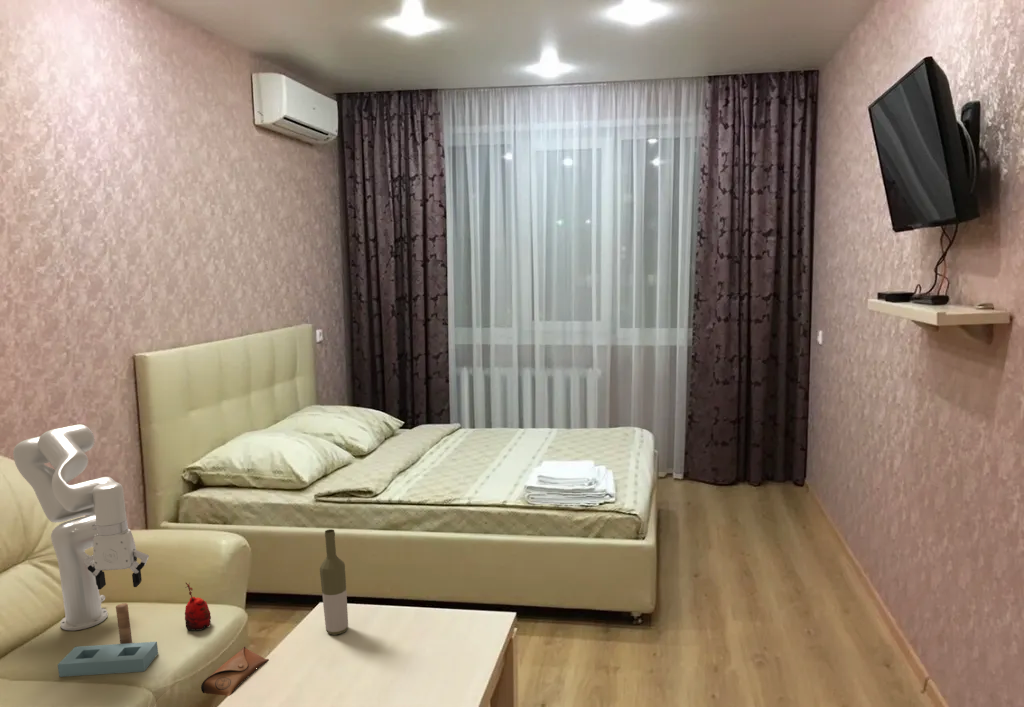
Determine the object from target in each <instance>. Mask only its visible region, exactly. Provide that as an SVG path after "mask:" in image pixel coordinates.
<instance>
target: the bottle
mask: <svg viewBox="0 0 1024 707" xmlns="http://www.w3.org/2000/svg"><path fill="white" fill-rule="evenodd" d="M324 538H325V549H326V557H325V559H324V560H323V561H322V562H321V564H320V566H319V576H320V584H321V595H322V604H323V606H322V607H323V614H324V624H325V631H326V633H328V634H329V635H333V636H334V635H340V634H343V633H346V631H348V628H349V616H348V615H349V614H348V613H349V612H348V599H347V598H348V594H347V581H346V580H347V579H346V578H347V577H346V564H345V562H344V561H343V560H342V559H341V558H339V557H338V556H337V553H336V552H337V550H336V549H337V548H336V532H335V529H333V528H332V529H326V530H325V531H324Z"/></svg>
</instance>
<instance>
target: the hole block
mask: <svg viewBox="0 0 1024 707" xmlns="http://www.w3.org/2000/svg"><path fill="white" fill-rule="evenodd" d="M158 654H159V648H158V642H157V641H148V642H147V641H145V642H132V643H126V644H120V643H115V644H114V643H112V644H99V645H98V644H95V645H81V646H78V645H77V646H75V647H73V648H72V649H71V650H70V651H69V653H67V654H66V655H65V656H64V658H62V660H60V661H59V663H58V664H57V669H58V677H60V678H62V677H76V676H77V677H78V676H93V675H108V674H124V673H139V672H146V670H147V668H149V666H150V665H151V664H152V662H153V661H154V660H155V658H156V657H157V656H158Z"/></svg>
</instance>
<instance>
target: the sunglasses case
mask: <svg viewBox="0 0 1024 707" xmlns="http://www.w3.org/2000/svg"><path fill="white" fill-rule="evenodd" d="M268 661H269V658H264V657H262V656H261V655H259V654H257V653H256V652H254V651H252V650H250V649H249V648H246V646H243V647H242V649H240V650H239V651H238V652H237V653H236V654H234V655H233V656H232V657H230V658H229V659H228V660H227V661H226V662H224V663H223V664H222V665H221V666H219V667H218V668H217V669H216V670H215V671H214V672H213V673H212V674H211V675H209V676H208V677H206V678H205V679H204V680H203V681H202V683H201V685H200V686H201V687H200V688H201V692H202V694H207V695H215V696H227V697H230V696H232V694H233V693H234V692H235V691H236V690H237V689H238V688H239V687H240V686H241V685H242V683H244V682H245V681H246V680H247V679H248V678H249V677H250V676H251V675H252V674H254V673H255V672H256V671H257V670H258V669H260V667H262V666H263V665H264V664H266V663H267V662H268ZM256 668H257V669H256ZM248 676H249V677H248ZM247 677H248V678H247ZM246 678H247V679H246ZM240 684H241V685H240Z"/></svg>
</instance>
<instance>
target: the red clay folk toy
mask: <svg viewBox="0 0 1024 707" xmlns="http://www.w3.org/2000/svg"><path fill="white" fill-rule="evenodd" d="M185 584H186V587H185V589H186V588H188V591H189V592H188V594H189V595H190V598H189V601H188V602H187V604H186V605H185V610H184V620H185V628H186V629H187V630H189V631H201V630H205V628H206V629H207V628H209V627H210V625H211V623H212V622H211V620H212V616H211V612H210V609H209V605H208V603H207V601H206V600H204V599H203V598H201V597H196V596H193V595H192V593H193V590H194V589H193V587H191V586H190V584H191V582H190V581H189V582H188V583H187V582H185Z"/></svg>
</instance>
